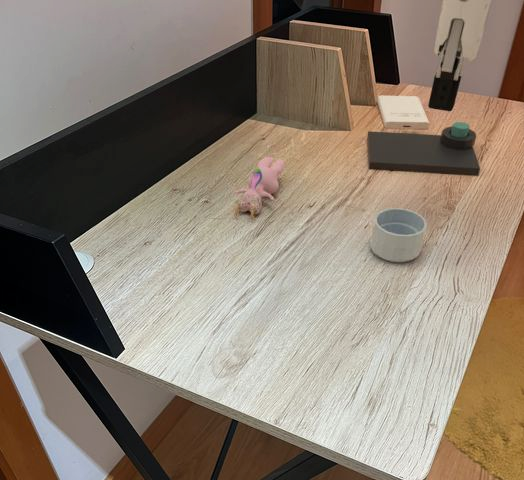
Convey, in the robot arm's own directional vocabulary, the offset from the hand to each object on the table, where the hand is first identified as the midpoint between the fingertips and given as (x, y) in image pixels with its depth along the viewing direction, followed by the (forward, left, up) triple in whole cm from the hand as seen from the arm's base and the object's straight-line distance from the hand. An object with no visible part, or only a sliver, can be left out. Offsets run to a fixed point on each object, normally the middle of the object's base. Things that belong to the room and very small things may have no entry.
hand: (440, 107), depth 76 cm
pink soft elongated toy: (+24, -1, -16) cm, 29 cm away
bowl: (+4, +11, -15) cm, 20 cm away
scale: (-2, -18, -15) cm, 24 cm away
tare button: (-8, -21, -13) cm, 26 cm away
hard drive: (0, -35, -16) cm, 38 cm away
